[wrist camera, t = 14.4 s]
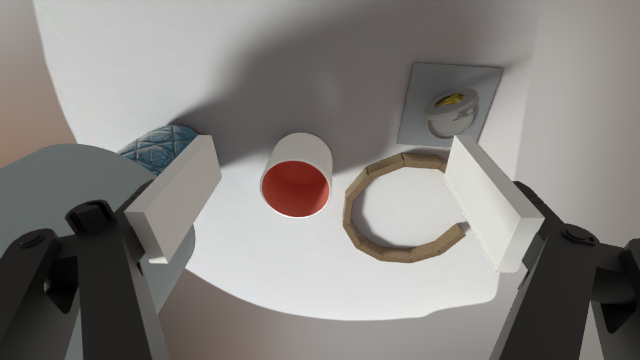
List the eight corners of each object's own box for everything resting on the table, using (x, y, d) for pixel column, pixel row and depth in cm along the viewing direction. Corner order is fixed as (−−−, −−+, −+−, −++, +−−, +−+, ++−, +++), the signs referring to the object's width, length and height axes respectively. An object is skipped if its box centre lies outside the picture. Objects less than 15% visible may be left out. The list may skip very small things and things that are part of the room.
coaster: (413, 62, 40) (414, 63, 39) (501, 68, 40) (503, 69, 39) (396, 142, 46) (397, 143, 46) (472, 147, 46) (473, 149, 45)
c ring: (350, 149, 47) (351, 156, 45) (488, 158, 47) (495, 166, 45) (338, 248, 59) (338, 257, 57) (448, 256, 58) (452, 266, 56)
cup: (333, 130, 46) (333, 160, 37) (331, 184, 51) (330, 220, 42) (271, 128, 46) (256, 157, 37) (275, 181, 51) (262, 217, 43)
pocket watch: (449, 144, 45) (475, 177, 37) (405, 119, 43) (422, 148, 35) (488, 98, 41) (528, 123, 33) (442, 69, 39) (470, 87, 31)
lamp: (254, 191, 52) (124, 488, 20) (157, 200, 55) (-98, 480, 23) (220, 83, 43) (-138, 329, 10) (103, 101, 45) (-482, 345, 13)
